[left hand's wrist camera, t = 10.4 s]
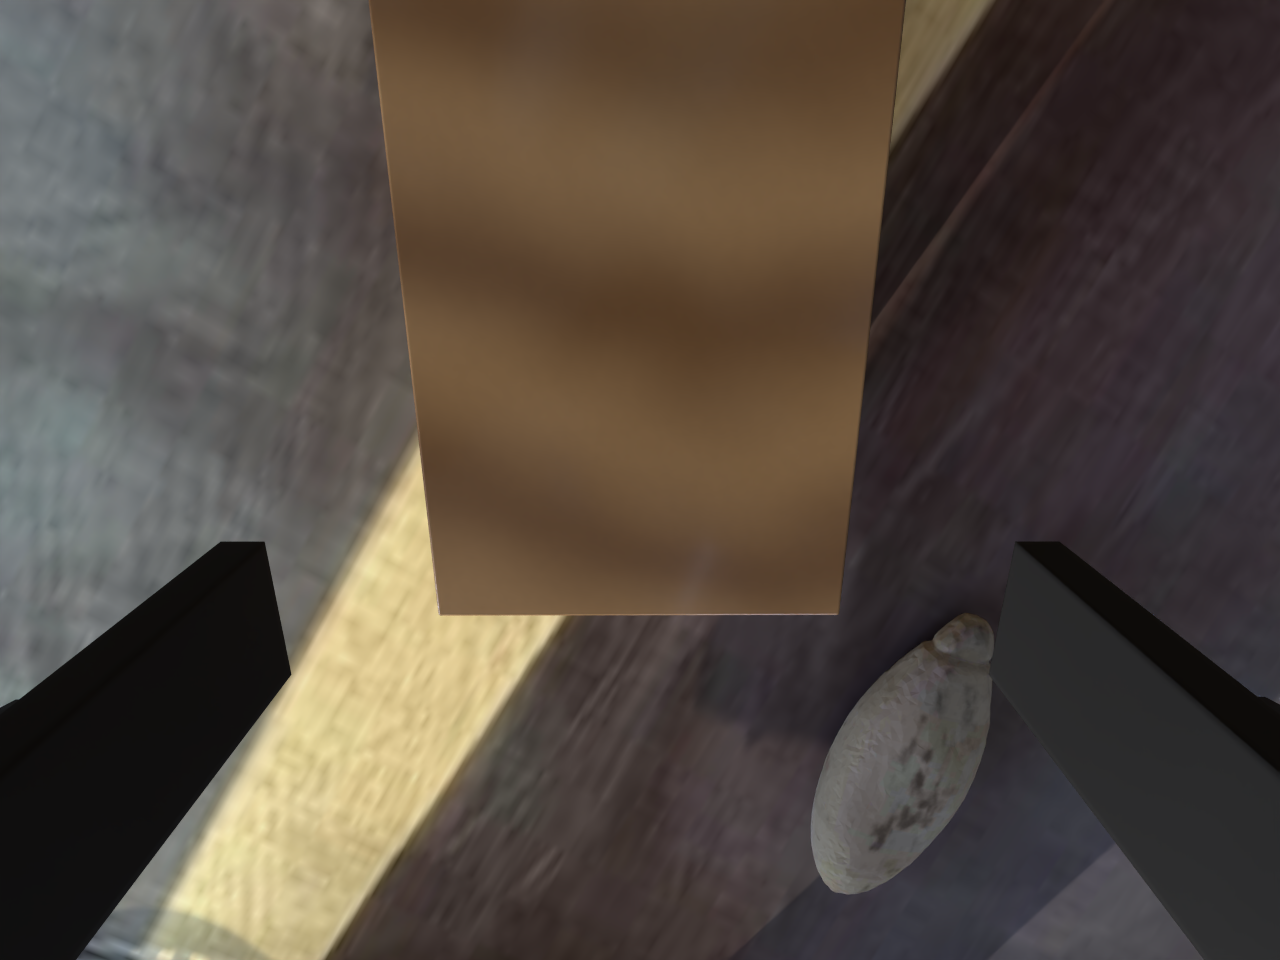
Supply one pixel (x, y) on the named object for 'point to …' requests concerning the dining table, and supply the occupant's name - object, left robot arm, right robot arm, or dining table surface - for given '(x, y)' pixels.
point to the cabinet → (638, 292)
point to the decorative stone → (904, 759)
